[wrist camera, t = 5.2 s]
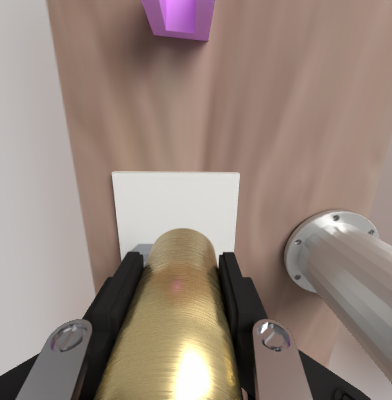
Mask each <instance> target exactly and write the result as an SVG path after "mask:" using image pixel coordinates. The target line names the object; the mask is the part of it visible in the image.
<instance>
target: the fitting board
mask: <svg viewBox="0 0 392 400" xmlns="http://www.w3.org/2000/svg"><path fill="white" fill-rule="evenodd" d="M239 177H240V173H238V172H151V171H114V172H112V179H113V189H114V198H115V207H116V216H117V225H118V234H119V243H120V253H121V262H122V261H123V259H124V257H125V255H126V254H127V252H139V253H140V254H143V260H144V267H145V264H146V261H147V259H148V256H149V254H150V251H151V248H152V246H153V244H154V242H155V241H156V240H157V239H158V237H160V236H161V235H162V234H164V233H165V232H167V231H170V230H173V229H177V228H188V229H193V230H196V231H198V232H200V233H202V234H203V235H205V236H206V237H207V238H208V239H209V240H210V242H211V243H212V245H213V247H214V250H215V254H216V259H217V264H219V255H223V252H234V242H235V229H236V216H237V203H238V190H239ZM120 264H121V263H120ZM119 266H120V265H119Z"/></svg>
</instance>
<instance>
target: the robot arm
mask: <svg viewBox="0 0 392 400" xmlns="http://www.w3.org/2000/svg"><path fill="white" fill-rule="evenodd" d="M284 264H285V268H286V270H287V272H288V274H289V276H290V277H291V278H292V280H293V281H294V282H295V283H296V284H297V285H298V286H300V287H301V288H303V289H305V290H307V291H310V292H314V293H318V294H319V295H320V296H321V298H322V299H323V300H324V301H325V303H326V304H327V305H328V306H329V307H330V309H331V310H332V311H333V312H334V314H335V315H336V316H337V317H338V318H339V320H340V321H341V322H342V323H343V325H344V326H345V327H346V328H347V329H348V331H349V332H350V333H351V334H352V336H353V337H354V338H355V339H356V340H357V342H358V343H359V344H360V345H361V346H362V348H363V349H364V350H365V351H366V353H367V354H368V355H369V356H370V357H371V359H372V360H373V361H374V362H375V364H376V365H377V366H378V367H379V369H381V371H382V372H383V373H384V375H385V376H386V377H387V378H388V380H389V381H390V382H391V383H392V246H390V245H389V244H387V243H385V242H383V241H381V240H380V239H379V235H378V232H377V230H376V228H375V227H374V225H373V224H372V223H371V222H370V221H369V220H368V219H367V218H365V217H363V216H361V215H359V214H357V213H354V212H352V211H347V210H329V211H324V212H321V213H319V214H316V215H314V216H312V217H310V218H308V219H307V220H306V221H304V222H303V223H302V224H300V225H299V226H298V227H297V229H296V230H295V231H294V232H293V233H292V235H291V236H290V238H289V240H288V242H287V244H286V247H285V252H284ZM143 269H144V260H143V254H140V253H139V252H127V254H126V255H125V257H124V259H123V261H122V262H121V264H120V266H119V267H118V269H117V271H116V273H115V274H114V276H113V277H109V278H107V280H106V281H105V283H104V284H103V286H102V288H101V289H100V291H99V292H98V294H97V296H96V297H95V299H94V301H93V303H92V304H91V306H90V307H89V309H88V310H87V312H86V313H85V315H84V317H83V318H82V319H76V320H72V321H69V322H67V323H65V324H63V325H61V326H60V327H58V328H57V329H56V330H55V331H54V332H53V333H52V334H51V335H50V337H49V338H48V339H47V341H46V343H45V345H44V347H43V349H42V350H41V352H40V353H39V354H37V355H35V356H34V357H32V358H30V359H29V360H27V361H25V362H24V363H22V364H20V365H18V366H17V367H15V368H13V369H12V370H10V371H8V372H6V373H5V374H3V375H1V376H0V400H93V399H94V396H95V394H96V391H97V388H98V386H99V383H100V381H101V378H102V375H103V373H104V370H105V368H106V365H107V362H108V360H109V357H110V355H111V352H112V349H113V347H114V344H115V342H116V339H117V337H118V334H119V331H120V329H121V326H122V324H123V321H124V318H125V316H126V313H127V311H128V308H129V305H130V303H131V300H132V298H133V295H134V292H135V290H136V287H137V285H138V282H139V280H140V277H141V274H142V272H143ZM218 270H219V275H220V280H221V285H222V291H223V296H224V301H225V306H226V311H227V317H228V322H229V327H230V332H231V337H232V343H233V348H234V353H235V358H236V363H237V369H238V374H239V379H240V384H241V387H242V388H243V389H244V390H245V391H246V392H245V395H246V400H371V399H370V398H369V397H368V396H366V395H365V394H364V393H363V392H361V391H360V390H358V389H357V388H355V387H354V386H352V385H351V384H349V383H348V382H346V381H345V380H343V379H342V378H340V377H339V376H337V375H336V374H334V373H333V372H331V371H330V370H328V369H327V368H325V367H324V366H322V365H321V364H319V363H318V362H316V361H315V360H313V359H312V358H310V357H309V356H307V355H306V354H304V353H303V352H301V351H300V350H298V349H297V346H296V343H295V339H294V337H293V335H292V333H291V332H290V331H289V330H288V328H286V327H285V326H284V325H283V324H281V323H279V322H277V321H274V320H271V319H268V317H267V315H266V312H265V310H264V308H263V305H262V303H261V300H260V298H259V296H258V293H257V291H256V288H255V286H254V284H253V281H252V279H251V278H250V277H242V274H241V272H240V269H239V266H238V263H237V260H236V257H235V255H234V252H223V255H219V264H218Z"/></svg>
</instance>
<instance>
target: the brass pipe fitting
mask: <svg viewBox="0 0 392 400" xmlns="http://www.w3.org/2000/svg"><path fill="white" fill-rule="evenodd" d="M93 400H243V395H242V389H241V384H240V379H239V374H238V369H237V363H236V358H235V353H234V348H233V343H232V337H231V332H230V327H229V322H228V317H227V311H226V306H225V301H224V296H223V291H222V285H221V280H220V275H219V270H218V264H217V259H216V254H215V250H214V247H213V245H212V243H211V242H210V240H209V239H208V238H207V237H206V236H205V235H203V234H202V233H200V232H198V231H196V230H193V229H188V228H177V229H173V230H170V231H167V232H165V233H164V234H162V235H161V236H160V237H158V239H157V240H156V241H155V242H154V244H153V246H152V248H151V251H150V254H149V256H148V259H147V261H146V264H145V267H144V269H143V272H142V274H141V277H140V280H139V282H138V285H137V287H136V290H135V292H134V295H133V298H132V300H131V303H130V305H129V308H128V311H127V313H126V316H125V318H124V321H123V324H122V326H121V329H120V331H119V334H118V337H117V339H116V342H115V344H114V347H113V349H112V352H111V355H110V357H109V360H108V362H107V365H106V368H105V370H104V373H103V375H102V378H101V381H100V383H99V386H98V388H97V391H96V394H95V396H94V399H93Z"/></svg>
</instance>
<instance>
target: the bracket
mask: <svg viewBox="0 0 392 400" xmlns="http://www.w3.org/2000/svg"><path fill="white" fill-rule="evenodd" d="M141 1H142V4H143V7H144V10H145V12H146V15H147V18H148V21H149V24H150V26H151V29H152V32H153V35H157V36H166V37H175V38H184V39H193V40H202V41H208V38H209V32H210V26H211V21H212V15H213V9H214V2H215V0H141Z"/></svg>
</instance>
